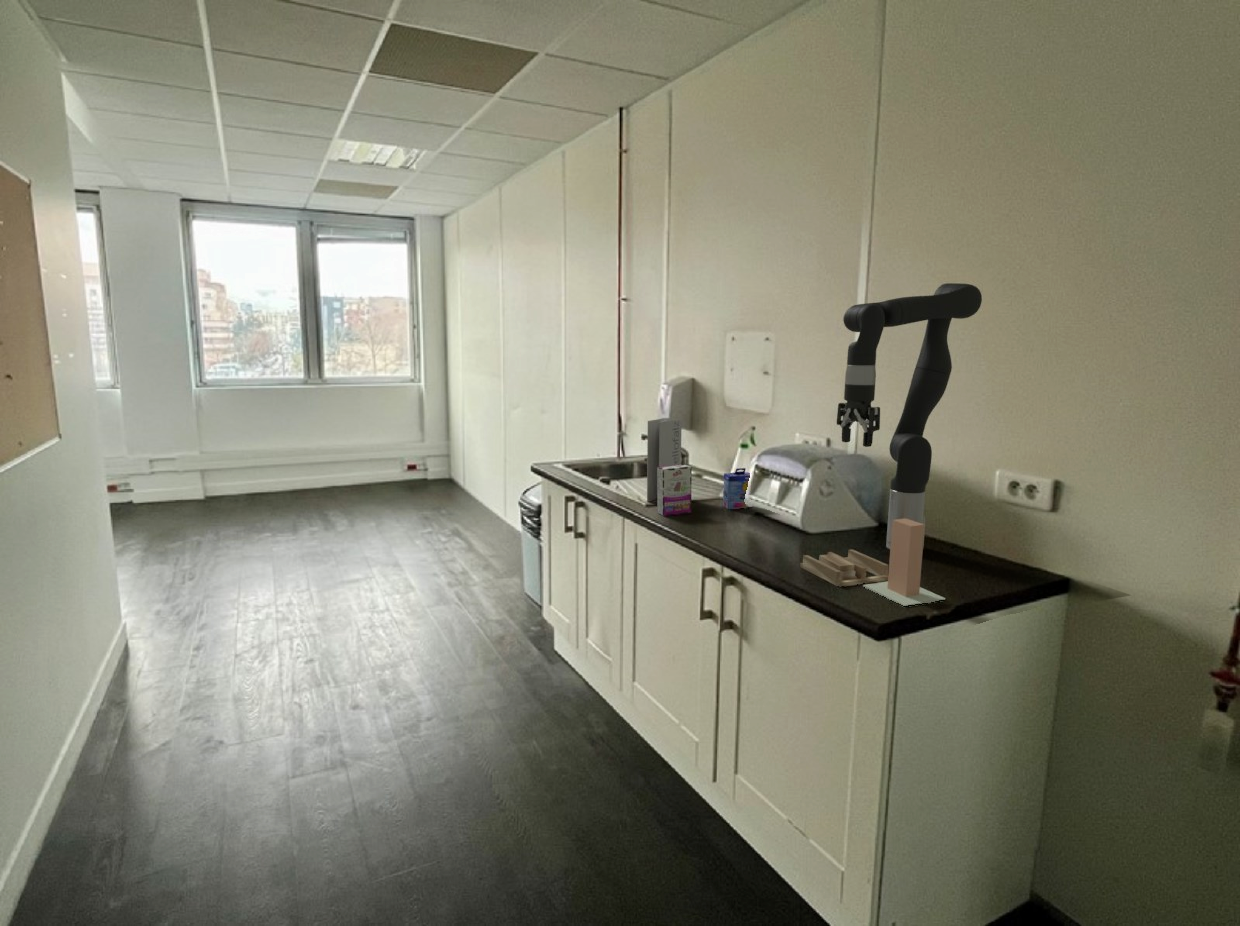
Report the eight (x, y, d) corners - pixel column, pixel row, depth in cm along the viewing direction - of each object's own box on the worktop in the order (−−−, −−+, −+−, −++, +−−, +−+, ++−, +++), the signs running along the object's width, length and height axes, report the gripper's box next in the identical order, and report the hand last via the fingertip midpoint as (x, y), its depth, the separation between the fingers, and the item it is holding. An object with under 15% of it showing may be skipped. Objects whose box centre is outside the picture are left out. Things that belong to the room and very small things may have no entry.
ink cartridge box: (727, 509, 248) (729, 469, 245) (721, 506, 253) (722, 466, 250) (753, 508, 250) (755, 468, 248) (747, 504, 255) (748, 465, 253)
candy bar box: (684, 510, 248) (685, 464, 245) (691, 513, 243) (692, 466, 240) (656, 513, 243) (656, 466, 240) (662, 516, 239) (663, 468, 236)
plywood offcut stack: (831, 568, 186) (832, 553, 186) (856, 582, 176) (857, 566, 175) (816, 570, 185) (817, 554, 184) (841, 583, 175) (842, 567, 174)
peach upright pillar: (900, 586, 171) (905, 518, 168) (919, 594, 165) (924, 524, 162) (887, 588, 169) (892, 519, 166) (905, 596, 164) (911, 526, 161)
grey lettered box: (659, 504, 256) (660, 422, 251) (646, 502, 259) (647, 421, 254) (680, 497, 267) (681, 418, 262) (668, 495, 270) (669, 417, 265)
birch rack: (848, 560, 192) (849, 548, 191) (890, 579, 177) (891, 566, 176) (799, 566, 187) (800, 554, 186) (839, 587, 172) (840, 573, 171)
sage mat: (902, 581, 176) (902, 579, 176) (945, 600, 163) (945, 598, 163) (862, 586, 172) (863, 584, 172) (904, 607, 159) (904, 605, 159)
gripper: (890, 384, 178) (886, 447, 181) (854, 380, 191) (850, 439, 194) (866, 384, 175) (862, 449, 178) (830, 381, 189) (827, 441, 191)
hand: (856, 444), depth 186 cm, fingers open, 8 cm apart
